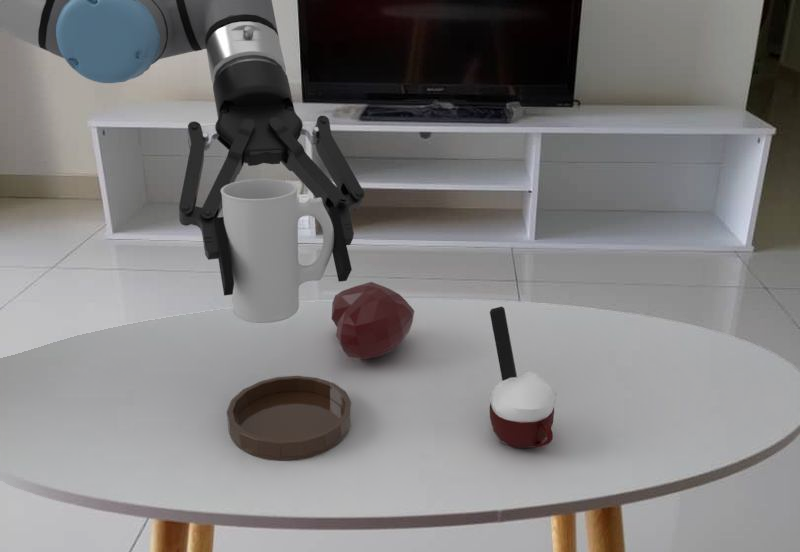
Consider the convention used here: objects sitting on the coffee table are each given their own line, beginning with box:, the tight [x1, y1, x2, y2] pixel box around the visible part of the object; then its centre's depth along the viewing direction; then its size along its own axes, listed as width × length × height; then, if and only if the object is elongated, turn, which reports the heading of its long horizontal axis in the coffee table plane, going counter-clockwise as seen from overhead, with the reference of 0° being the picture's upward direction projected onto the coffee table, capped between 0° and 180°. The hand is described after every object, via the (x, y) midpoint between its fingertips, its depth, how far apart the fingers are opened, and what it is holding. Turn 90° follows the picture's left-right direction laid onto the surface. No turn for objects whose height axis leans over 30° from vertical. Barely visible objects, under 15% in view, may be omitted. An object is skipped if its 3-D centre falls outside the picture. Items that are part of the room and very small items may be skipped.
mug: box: [221, 178, 334, 324], centre depth 70 cm, size 10×7×12 cm, turn 101°
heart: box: [331, 281, 415, 360], centre depth 90 cm, size 12×8×10 cm
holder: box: [226, 375, 353, 461], centre depth 75 cm, size 12×12×2 cm
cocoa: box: [489, 306, 557, 449], centre depth 72 cm, size 10×6×12 cm, turn 4°
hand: (288, 282), depth 68 cm, fingers closed on mug, 10 cm apart
